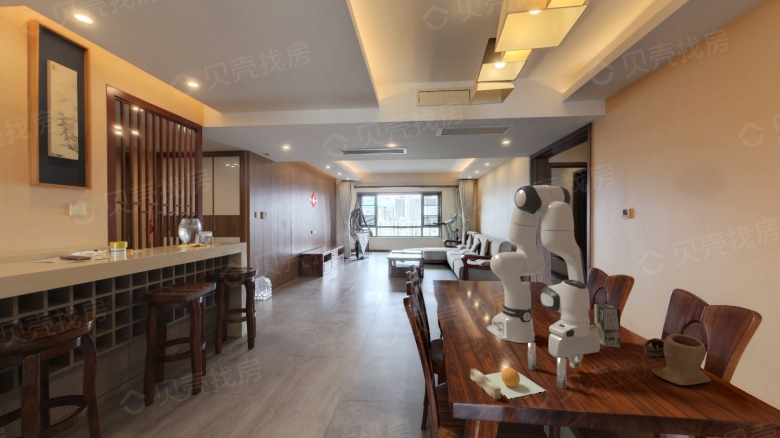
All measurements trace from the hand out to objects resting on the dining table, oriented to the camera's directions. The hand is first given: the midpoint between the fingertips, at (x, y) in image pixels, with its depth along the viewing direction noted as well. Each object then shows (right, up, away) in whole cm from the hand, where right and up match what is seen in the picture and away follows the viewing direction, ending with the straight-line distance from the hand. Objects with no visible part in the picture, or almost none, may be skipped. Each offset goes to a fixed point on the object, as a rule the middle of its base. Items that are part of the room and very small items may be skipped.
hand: (575, 366), depth 107 cm
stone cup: (+33, -2, -6) cm, 33 cm away
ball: (-27, +1, -10) cm, 28 cm away
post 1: (-14, -2, +2) cm, 15 cm away
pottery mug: (+40, -2, +12) cm, 42 cm away
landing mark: (-26, -1, -8) cm, 27 cm away
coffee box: (+30, -2, +25) cm, 39 cm away
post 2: (-10, -1, -10) cm, 15 cm away
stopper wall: (-35, -1, -11) cm, 37 cm away
